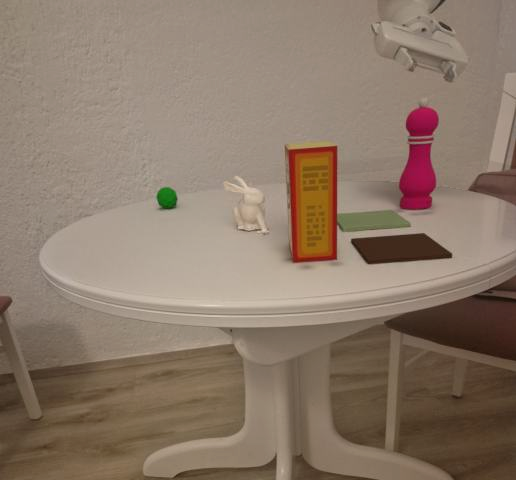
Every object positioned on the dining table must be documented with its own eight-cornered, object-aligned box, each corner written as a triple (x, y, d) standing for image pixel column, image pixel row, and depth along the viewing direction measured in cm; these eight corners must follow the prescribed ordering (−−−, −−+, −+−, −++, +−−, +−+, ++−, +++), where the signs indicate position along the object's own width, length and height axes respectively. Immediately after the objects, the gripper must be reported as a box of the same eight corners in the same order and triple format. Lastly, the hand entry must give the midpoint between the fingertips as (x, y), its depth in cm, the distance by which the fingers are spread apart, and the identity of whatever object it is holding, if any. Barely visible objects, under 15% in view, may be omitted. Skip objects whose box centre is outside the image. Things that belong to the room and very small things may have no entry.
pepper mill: (438, 203, 100) (449, 95, 91) (427, 211, 95) (437, 97, 86) (404, 202, 104) (411, 98, 95) (392, 209, 99) (398, 100, 90)
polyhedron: (171, 210, 114) (167, 189, 111) (154, 210, 116) (150, 189, 114) (182, 206, 118) (180, 185, 115) (166, 205, 120) (163, 185, 117)
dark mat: (423, 236, 79) (424, 232, 79) (452, 257, 68) (452, 253, 68) (351, 242, 79) (351, 238, 79) (367, 264, 68) (368, 260, 68)
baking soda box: (289, 245, 80) (284, 141, 73) (328, 242, 80) (327, 138, 72) (293, 262, 71) (288, 146, 64) (337, 259, 71) (337, 143, 64)
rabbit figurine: (270, 234, 87) (266, 178, 83) (228, 237, 87) (223, 182, 83) (263, 220, 98) (260, 170, 94) (226, 223, 98) (222, 173, 93)
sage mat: (392, 212, 96) (392, 209, 96) (410, 226, 85) (410, 223, 85) (332, 217, 96) (332, 214, 96) (343, 231, 85) (343, 228, 85)
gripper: (376, 4, 94) (395, 43, 88) (460, 31, 101) (483, 69, 94) (361, 36, 99) (378, 76, 93) (442, 60, 106) (462, 99, 100)
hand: (432, 73), depth 94 cm, fingers open, 8 cm apart
